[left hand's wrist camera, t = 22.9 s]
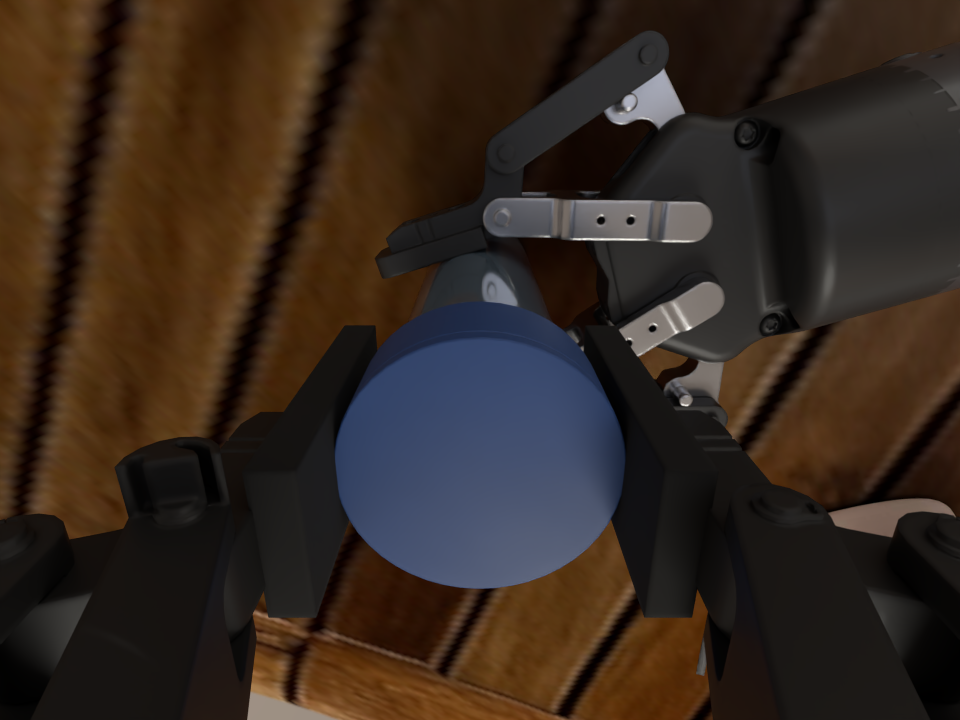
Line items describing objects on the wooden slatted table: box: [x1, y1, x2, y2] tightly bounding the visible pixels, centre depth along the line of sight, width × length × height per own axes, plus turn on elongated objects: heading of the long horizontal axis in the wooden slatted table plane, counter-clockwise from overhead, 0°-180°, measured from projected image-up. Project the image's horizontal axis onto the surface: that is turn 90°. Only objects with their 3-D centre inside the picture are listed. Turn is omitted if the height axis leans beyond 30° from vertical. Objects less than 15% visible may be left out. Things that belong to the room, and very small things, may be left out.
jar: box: [407, 237, 553, 323], centre depth 18 cm, size 4×4×16 cm
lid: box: [334, 301, 626, 589], centre depth 11 cm, size 5×5×2 cm
